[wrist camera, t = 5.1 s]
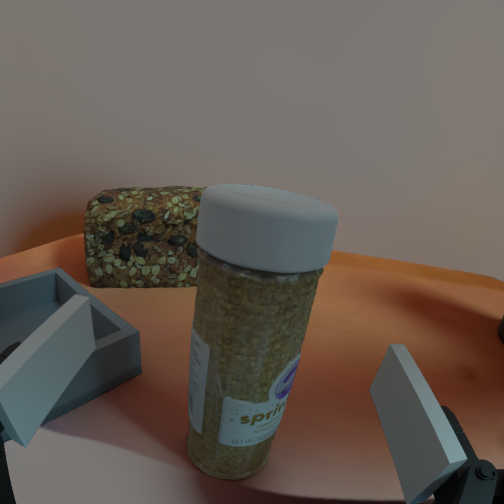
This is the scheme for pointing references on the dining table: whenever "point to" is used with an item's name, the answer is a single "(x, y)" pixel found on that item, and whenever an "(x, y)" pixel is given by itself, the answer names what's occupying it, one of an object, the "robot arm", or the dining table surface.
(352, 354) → the dining table surface
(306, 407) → the dining table surface
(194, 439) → the sprinkles bottle
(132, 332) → the tray
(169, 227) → the bread
